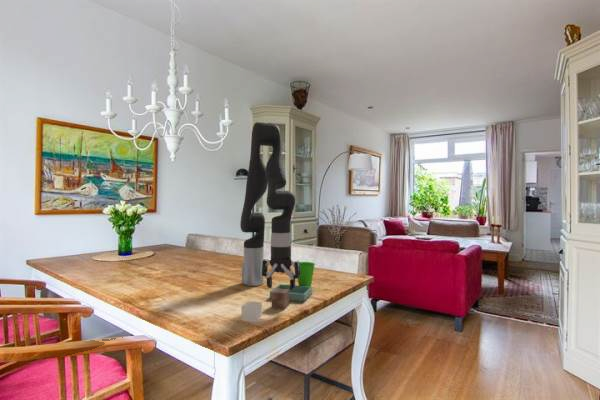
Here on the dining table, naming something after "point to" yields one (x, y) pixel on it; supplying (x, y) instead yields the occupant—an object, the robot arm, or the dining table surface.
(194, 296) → the dining table surface
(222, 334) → the dining table surface
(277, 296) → the walnut block
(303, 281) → the cup
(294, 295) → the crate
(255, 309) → the cream box
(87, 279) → the dining table surface
